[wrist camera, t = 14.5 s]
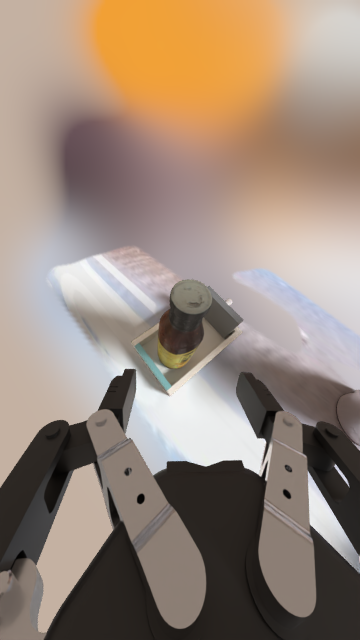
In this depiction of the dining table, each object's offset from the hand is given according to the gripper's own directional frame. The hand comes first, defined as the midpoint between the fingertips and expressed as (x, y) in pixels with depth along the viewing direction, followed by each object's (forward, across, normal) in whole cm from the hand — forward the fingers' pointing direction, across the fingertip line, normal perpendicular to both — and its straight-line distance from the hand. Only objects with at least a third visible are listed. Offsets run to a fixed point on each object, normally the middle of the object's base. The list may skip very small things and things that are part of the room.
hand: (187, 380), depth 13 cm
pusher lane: (+21, -3, +8) cm, 23 cm away
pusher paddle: (+24, -9, +3) cm, 26 cm away
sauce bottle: (+19, 0, +9) cm, 21 cm away
